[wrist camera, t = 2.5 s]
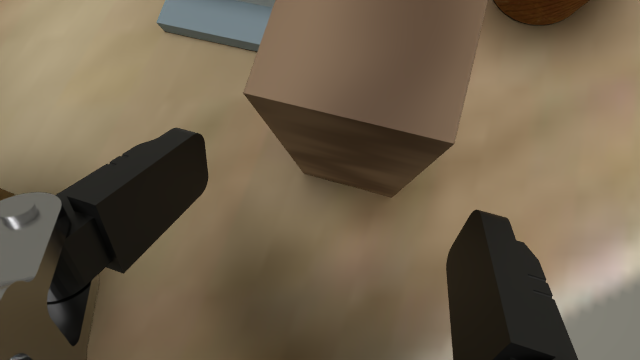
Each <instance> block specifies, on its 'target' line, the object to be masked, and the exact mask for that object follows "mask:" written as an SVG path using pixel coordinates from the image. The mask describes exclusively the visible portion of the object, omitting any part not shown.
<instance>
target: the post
mask: <svg viewBox="0 0 640 360" xmlns="http://www.w3.org/2000/svg"><path fill="white" fill-rule="evenodd" d="M487 2H488V0H275V3H274V6H273V8H272V11H271V14H270V17H269V20H268V23H267V26H266V29H265V31H264V34H263V37H262V40H261V43H260V46H259V49H258V52H257V55H256V57H255V60H254V63H253V66H252V69H251V72H250V75H249V78H248V80H247V83H246V86H245V89H244V92H243V93H244V95H245V96H246V97H247V99H248V100H249V101H250V103H251V104H252V105H253V107H254V108H255V109H256V111H257V112H258V113H259V114H260V116H261V117H262V118H263V120H264V121H265V122H266V124H267V125H268V126H269V128H270V129H271V130H272V132H273V133H274V134H275V136H276V137H277V138H278V140H279V141H280V142H281V144H282V145H283V146H284V148H285V149H286V150H287V152H288V153H289V154H290V155H291V157H292V158H293V159H294V161H295V162H296V163H297V165H298V166H299V167H300V169H301V170H302V171H303V173H304V174H308V175H311V176H315V177H319V178H322V179H326V180H330V181H333V182H337V183H341V184H345V185H348V186H352V187H356V188H359V189H363V190H367V191H370V192H374V193H378V194H381V195H385V196H389V197H393V196H394V195H395V194H396V193H397V192H399V191H400V190H401V189H402V188H403V187H404V186H406V185H407V184H408V183H409V182H410V181H411V180H413V179H414V178H415V177H416V176H417V175H418V174H420V173H421V172H422V171H423V170H424V169H425V168H427V167H428V166H429V165H430V164H431V163H432V162H434V161H435V160H436V159H437V158H438V157H439V156H441V155H442V154H443V153H444V152H445V151H446V150H448V149H449V148H450V147H451V146H452V145H453V144H454V143H455V139H456V135H457V131H458V126H459V122H460V118H461V113H462V109H463V105H464V101H465V96H466V92H467V88H468V83H469V79H470V75H471V71H472V66H473V62H474V58H475V54H476V49H477V45H478V41H479V36H480V32H481V28H482V24H483V19H484V15H485V11H486V6H487Z"/></svg>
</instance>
